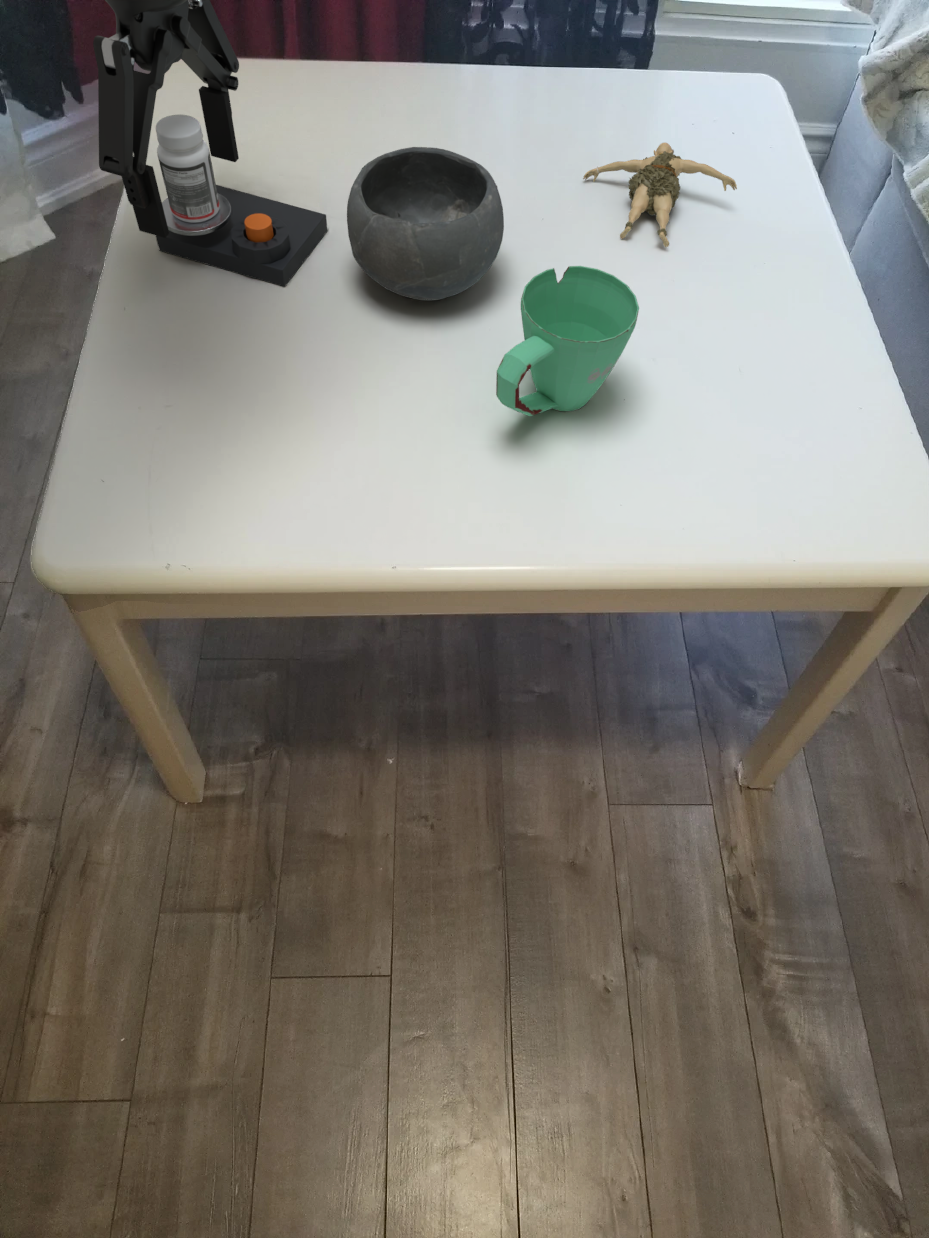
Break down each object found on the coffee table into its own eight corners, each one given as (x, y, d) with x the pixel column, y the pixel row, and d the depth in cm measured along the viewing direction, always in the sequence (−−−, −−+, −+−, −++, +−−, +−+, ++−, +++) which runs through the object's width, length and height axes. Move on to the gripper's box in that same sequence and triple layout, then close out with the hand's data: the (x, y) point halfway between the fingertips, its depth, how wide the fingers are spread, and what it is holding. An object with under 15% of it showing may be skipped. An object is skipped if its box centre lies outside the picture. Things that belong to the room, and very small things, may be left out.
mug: (553, 341, 88) (568, 250, 79) (637, 391, 85) (662, 301, 76) (454, 422, 81) (459, 332, 73) (541, 479, 78) (557, 391, 70)
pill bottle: (185, 191, 91) (166, 106, 84) (228, 202, 91) (213, 117, 84) (162, 217, 89) (140, 132, 82) (206, 229, 88) (188, 144, 81)
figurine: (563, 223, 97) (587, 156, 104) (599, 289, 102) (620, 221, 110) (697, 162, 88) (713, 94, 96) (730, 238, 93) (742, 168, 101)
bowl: (481, 338, 88) (489, 246, 79) (332, 310, 89) (323, 216, 80) (511, 246, 96) (520, 154, 87) (373, 222, 97) (370, 128, 88)
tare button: (278, 231, 90) (276, 217, 89) (266, 246, 89) (263, 232, 87) (254, 225, 90) (252, 210, 89) (242, 239, 89) (239, 225, 88)
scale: (327, 231, 96) (325, 200, 93) (283, 288, 90) (279, 257, 87) (207, 198, 98) (201, 166, 95) (158, 252, 92) (149, 221, 89)
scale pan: (161, 239, 88) (160, 234, 87) (157, 197, 92) (155, 192, 91) (235, 232, 89) (234, 227, 89) (227, 190, 93) (227, 186, 92)
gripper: (87, 17, 64) (158, 278, 81) (254, -111, 77) (284, 138, 94) (-5, -6, 65) (84, 256, 82) (175, -129, 78) (218, 121, 96)
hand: (191, 193), depth 88 cm, fingers open, 13 cm apart
